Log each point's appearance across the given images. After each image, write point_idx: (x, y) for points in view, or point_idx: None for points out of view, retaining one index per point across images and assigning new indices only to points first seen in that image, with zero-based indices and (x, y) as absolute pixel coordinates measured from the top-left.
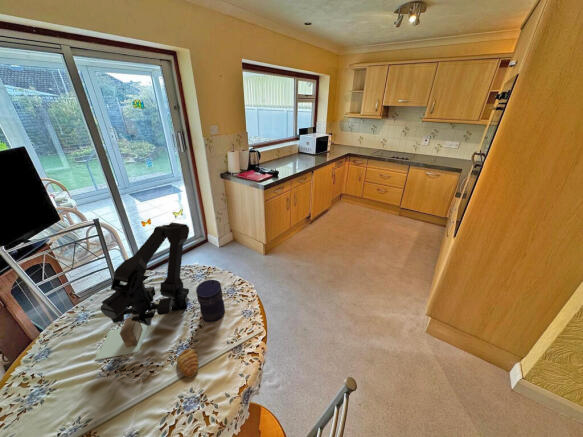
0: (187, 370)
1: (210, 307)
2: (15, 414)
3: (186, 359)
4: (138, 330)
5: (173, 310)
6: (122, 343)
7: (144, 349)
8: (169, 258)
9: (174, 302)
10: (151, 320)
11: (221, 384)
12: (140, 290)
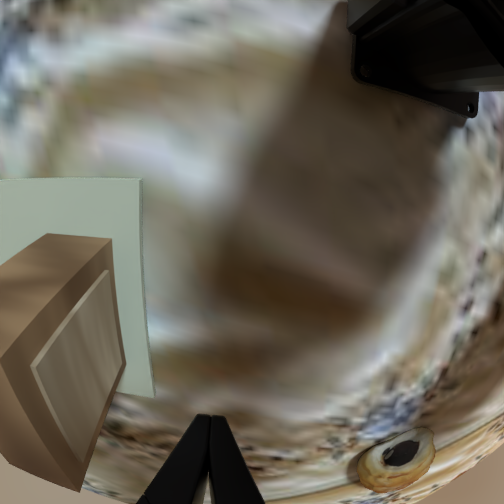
0: (386, 492)
1: None
2: None
3: (398, 486)
4: (93, 346)
5: (378, 84)
6: None
7: (184, 389)
8: None
9: (466, 67)
10: (239, 450)
11: (437, 477)
12: None
